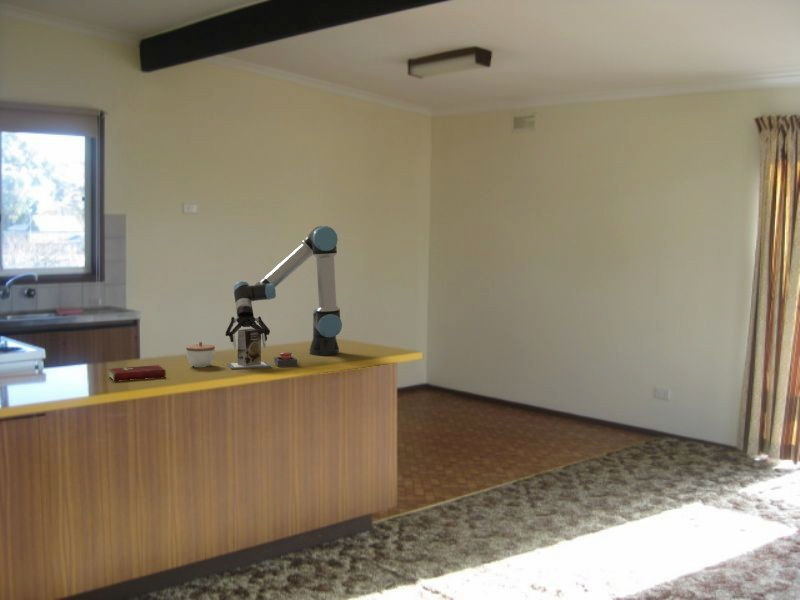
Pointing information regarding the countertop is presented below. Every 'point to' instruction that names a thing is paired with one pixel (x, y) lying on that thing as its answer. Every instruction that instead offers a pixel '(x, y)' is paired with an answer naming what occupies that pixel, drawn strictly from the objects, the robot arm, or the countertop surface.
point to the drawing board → (236, 366)
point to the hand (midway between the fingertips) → (249, 346)
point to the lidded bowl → (200, 354)
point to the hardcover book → (137, 372)
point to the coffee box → (249, 347)
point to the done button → (285, 355)
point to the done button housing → (285, 362)
